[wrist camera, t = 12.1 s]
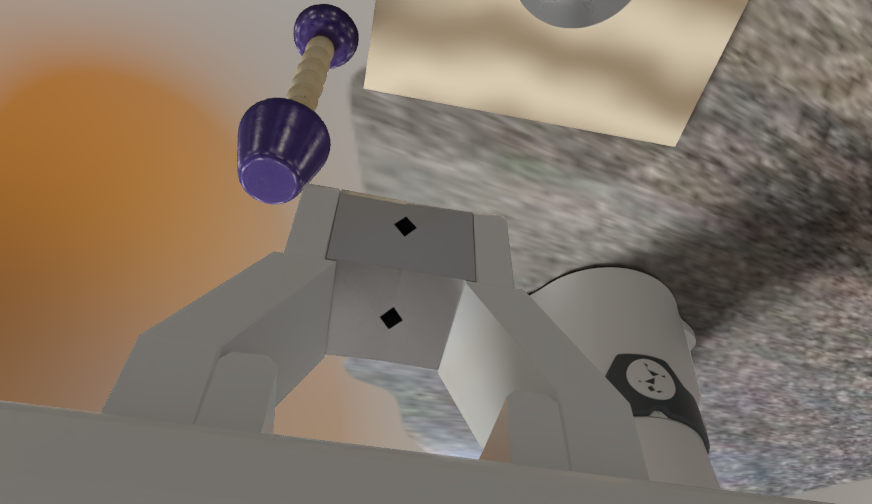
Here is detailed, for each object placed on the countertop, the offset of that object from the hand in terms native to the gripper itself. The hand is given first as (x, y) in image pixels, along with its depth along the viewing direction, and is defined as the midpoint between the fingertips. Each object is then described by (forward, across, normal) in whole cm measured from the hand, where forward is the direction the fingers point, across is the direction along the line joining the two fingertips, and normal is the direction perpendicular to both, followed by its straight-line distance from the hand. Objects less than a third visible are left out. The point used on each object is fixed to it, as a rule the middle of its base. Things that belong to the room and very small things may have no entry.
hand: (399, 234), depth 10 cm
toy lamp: (+34, +5, +12) cm, 37 cm away
